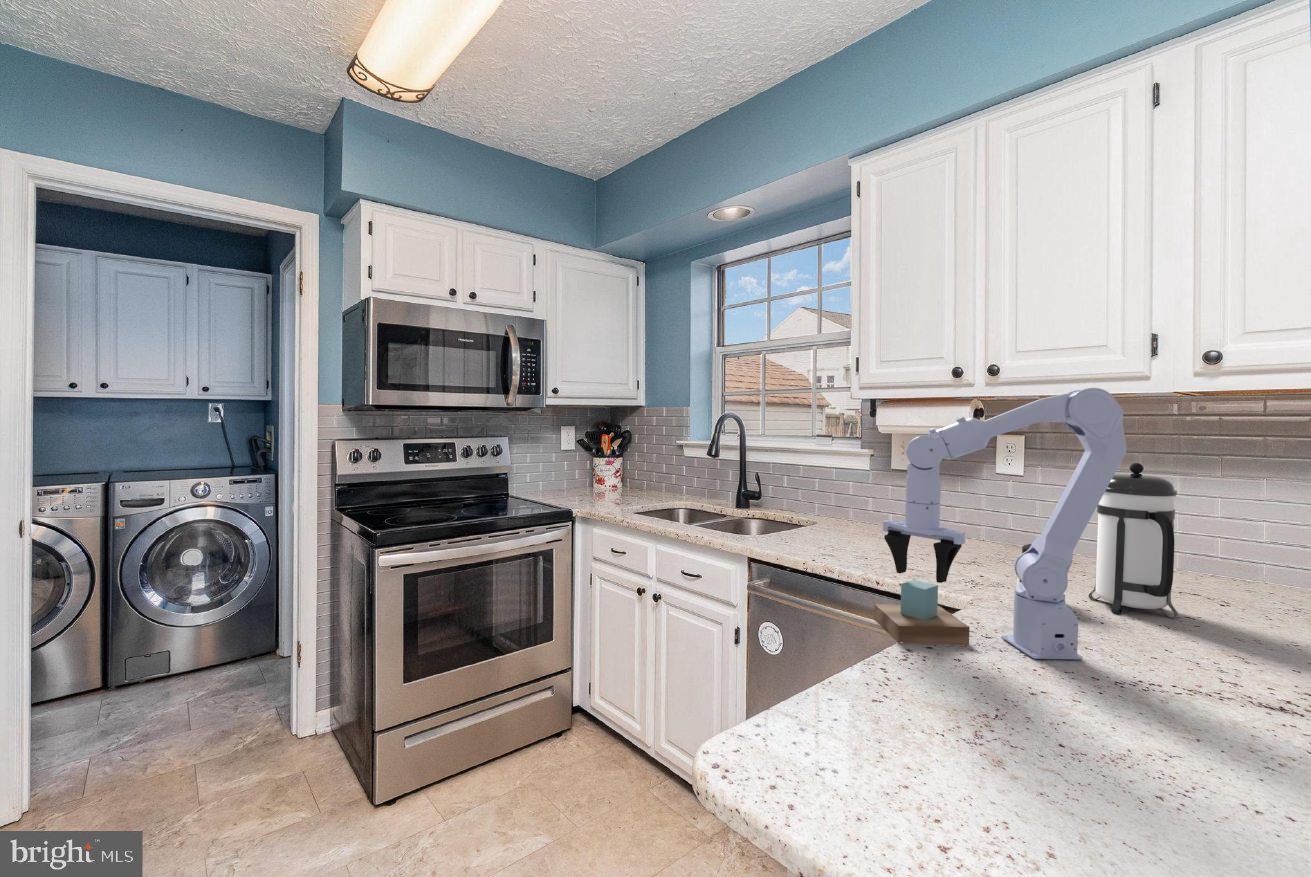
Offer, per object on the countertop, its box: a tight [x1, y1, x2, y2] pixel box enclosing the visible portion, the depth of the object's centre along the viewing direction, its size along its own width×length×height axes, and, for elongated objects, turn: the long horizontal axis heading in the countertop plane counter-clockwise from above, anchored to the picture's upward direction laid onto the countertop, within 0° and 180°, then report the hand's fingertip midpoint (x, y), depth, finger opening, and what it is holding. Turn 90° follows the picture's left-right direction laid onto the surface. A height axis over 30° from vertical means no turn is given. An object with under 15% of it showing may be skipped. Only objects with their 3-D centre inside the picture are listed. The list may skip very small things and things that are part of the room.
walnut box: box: [873, 603, 970, 645], centre depth 109 cm, size 12×12×4 cm
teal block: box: [900, 579, 939, 620], centre depth 109 cm, size 4×4×6 cm
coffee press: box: [1088, 462, 1179, 619], centre depth 122 cm, size 17×16×30 cm
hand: (920, 576), depth 109 cm, fingers open, 7 cm apart
